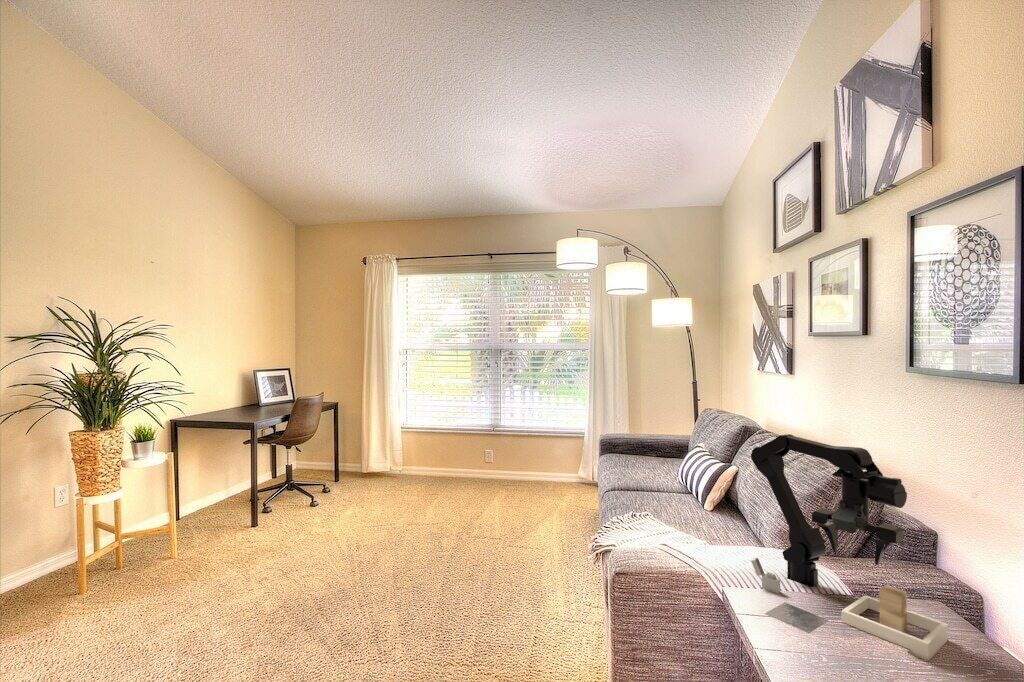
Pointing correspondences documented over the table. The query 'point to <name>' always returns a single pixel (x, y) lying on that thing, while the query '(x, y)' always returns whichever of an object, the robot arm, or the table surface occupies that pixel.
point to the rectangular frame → (917, 646)
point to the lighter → (766, 577)
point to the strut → (893, 608)
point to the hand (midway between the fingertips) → (855, 558)
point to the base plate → (796, 617)
